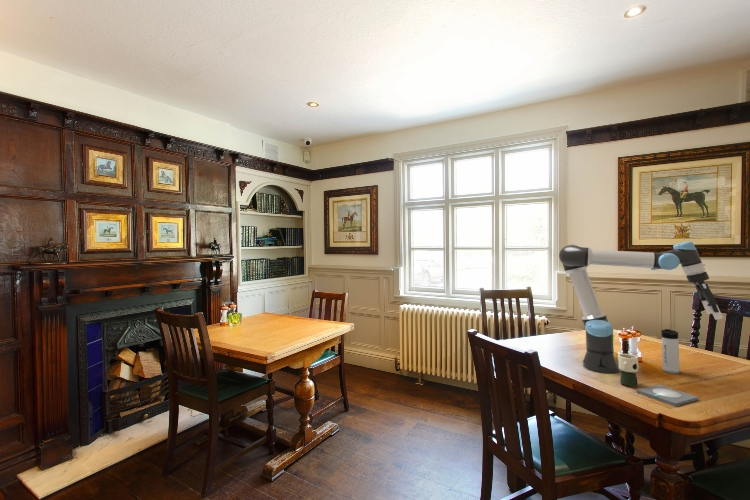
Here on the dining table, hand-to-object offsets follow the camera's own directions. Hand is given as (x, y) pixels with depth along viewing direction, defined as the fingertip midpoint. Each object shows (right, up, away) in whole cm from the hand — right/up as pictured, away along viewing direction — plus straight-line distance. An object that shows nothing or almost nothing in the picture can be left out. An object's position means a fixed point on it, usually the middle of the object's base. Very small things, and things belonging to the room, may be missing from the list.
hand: (715, 316), depth 160 cm
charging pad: (-41, -29, -21) cm, 54 cm away
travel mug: (-16, -28, +5) cm, 33 cm away
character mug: (-47, -29, -9) cm, 56 cm away
